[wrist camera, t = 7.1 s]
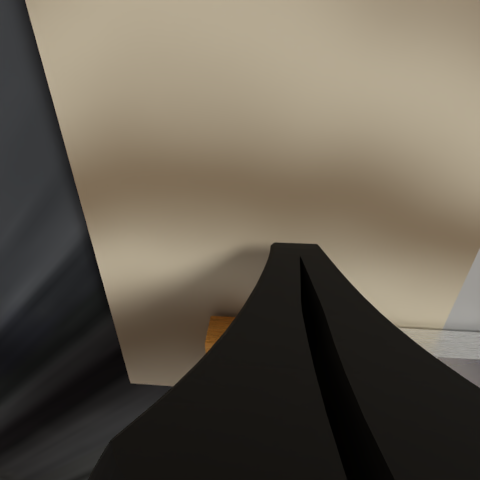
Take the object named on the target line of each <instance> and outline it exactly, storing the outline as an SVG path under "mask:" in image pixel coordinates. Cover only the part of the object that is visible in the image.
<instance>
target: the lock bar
mask: <svg viewBox="0 0 480 480" xmlns="http://www.w3.org/2000/svg"><path fill="white" fill-rule="evenodd" d="M234 319H235V317H223V316H211V317H210V322H209V326H208V331H207V336H206V340H205V351H206V353H207V352H208V351H209V350H210V348H211V347H212V346H213V345H214V344H215V342H216V341H217V340H218V339H219V338H220V337H221V335H222V334H223V333H224V332H225V331H226V329H227V328H228V327H229V325H230V324H231V323H232V321H233V320H234ZM399 329H400V330H401V331H402V332H404V333H405V334H406V335H407V336H409V337H410V338H411V339H412V340H413V341H415V342H416V343H417V344H418V345H420V346H421V347H422V348H424V349H425V350H426V351H428V352H429V353H430V354H432V355H433V356H434V357H436V358H437V359H439V360H440V361H442V362H443V363H444V364H446V365H447V366H449V367H450V368H451V369H453V370H454V371H456V372H457V373H459V374H460V375H461V376H463V377H464V378H466V379H467V380H469V381H470V382H472V383H473V384H475V385H476V386H478V387H479V388H480V332H465V331H446V330H428V329H409V328H399Z"/></svg>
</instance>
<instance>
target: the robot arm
mask: <svg viewBox="0 0 480 480" xmlns="http://www.w3.org/2000/svg"><path fill="white" fill-rule="evenodd" d="M88 480H480V388H479V387H478V386H476V385H475V384H473V383H472V382H470V381H469V380H467V379H466V378H464V377H463V376H461V375H460V374H459V373H457V372H456V371H454V370H453V369H451V368H450V367H449V366H447V365H446V364H444V363H443V362H442V361H440V360H439V359H437V358H436V357H434V356H433V355H432V354H430V353H429V352H428V351H426V350H425V349H424V348H422V347H421V346H420V345H418V344H417V343H416V342H415V341H413V340H412V339H411V338H410V337H409V336H407V335H406V334H405V333H404V332H402V331H401V330H400V329H399V328H398V327H396V326H395V325H394V324H393V323H392V322H390V321H389V320H388V319H387V318H386V317H385V316H384V315H382V314H381V313H380V312H379V311H378V310H377V309H376V308H375V307H374V306H373V305H372V304H371V303H370V302H369V301H368V300H367V299H366V298H365V297H364V296H363V295H362V294H361V293H360V292H359V291H358V290H357V289H356V288H355V287H354V286H353V285H352V284H351V283H350V282H349V280H348V279H347V278H346V277H345V276H344V275H343V274H342V273H341V271H340V270H339V269H338V268H337V267H336V266H335V264H334V263H333V262H332V261H331V260H330V258H329V257H328V256H327V255H326V254H325V252H324V251H323V250H322V249H321V248H320V246H319V245H318V244H305V243H278V242H274V243H273V244H272V245H271V246H270V253H269V257H268V260H267V262H266V265H265V267H264V270H263V272H262V274H261V276H260V278H259V280H258V282H257V284H256V286H255V288H254V289H253V291H252V293H251V294H250V296H249V298H248V299H247V301H246V302H245V304H244V306H243V307H242V309H241V310H240V312H239V313H238V314H237V316H236V317H235V319H234V320H233V321H232V323H231V324H230V325H229V327H228V328H227V329H226V331H225V332H224V333H223V334H222V335H221V337H220V338H219V339H218V340H217V341H216V342H215V344H214V345H213V346H212V347H211V348H210V350H209V351H208V352H207V353H206V354H205V355H204V356H203V357H202V358H201V359H200V360H199V362H198V363H197V364H196V365H195V366H193V367H192V368H191V369H190V370H189V371H188V372H187V373H186V374H185V375H184V376H183V377H182V378H181V379H180V380H179V381H178V382H177V383H176V384H175V385H174V386H173V387H172V388H171V389H170V390H169V391H168V392H167V393H166V394H165V395H163V396H162V397H161V398H160V399H159V400H158V401H157V402H156V403H154V404H153V405H152V406H151V407H150V408H148V409H147V410H146V411H145V412H144V413H142V414H141V415H140V416H139V417H138V418H136V419H135V420H134V421H133V422H132V423H131V424H129V425H128V426H127V427H126V428H125V429H123V430H122V431H121V432H120V433H119V434H117V435H116V436H115V437H114V438H113V439H111V440H110V442H109V444H108V445H107V447H106V448H105V450H104V452H103V453H102V455H101V457H100V459H99V460H98V462H97V464H96V466H95V467H94V469H93V471H92V473H91V475H90V477H89V479H88Z"/></svg>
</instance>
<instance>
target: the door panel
mask: <svg viewBox="0 0 480 480" xmlns="http://www.w3.org/2000/svg"><path fill="white" fill-rule="evenodd" d="M25 2H26V5H27V9H28V13H29V16H30V20H31V24H32V27H33V31H34V34H35V38H36V42H37V45H38V49H39V53H40V56H41V60H42V64H43V67H44V71H45V74H46V78H47V82H48V85H49V89H50V93H51V96H52V100H53V103H54V107H55V111H56V114H57V118H58V122H59V125H60V129H61V133H62V136H63V140H64V143H65V147H66V151H67V154H68V158H69V162H70V165H71V169H72V172H73V176H74V180H75V183H76V187H77V191H78V194H79V198H80V202H81V205H82V209H83V212H84V216H85V220H86V223H87V227H88V231H89V234H90V238H91V241H92V245H93V249H94V252H95V256H96V260H97V263H98V267H99V271H100V274H101V278H102V281H103V285H104V289H105V292H106V296H107V300H108V303H109V307H110V310H111V314H112V318H113V321H114V325H115V329H116V332H117V336H118V340H119V343H120V347H121V350H122V354H123V358H124V361H125V365H126V369H127V372H128V376H129V380H130V383H134V384H148V385H162V386H174V385H175V384H176V383H177V382H178V381H179V380H180V379H181V378H182V377H183V376H184V375H185V374H186V373H187V372H188V371H189V370H190V369H191V368H192V367H193V366H195V365H196V364H197V363H198V362H199V360H200V359H201V358H202V357H203V356H204V355H205V354H206V351H205V340H206V336H207V331H208V326H209V322H210V317H211V316H223V317H236V316H237V314H238V313H239V312H240V310H241V309H242V307H243V306H244V304H245V302H246V301H247V299H248V298H249V296H250V294H251V293H252V291H253V289H254V288H255V286H256V284H257V282H258V280H259V278H260V276H261V274H262V272H263V270H264V267H265V265H266V262H267V260H268V257H269V253H270V246H271V245H272V244H273V243H274V242H278V243H305V244H318V245H319V246H320V248H321V249H322V250H323V251H324V252H325V254H326V255H327V256H328V257H329V258H330V260H331V261H332V262H333V263H334V264H335V266H336V267H337V268H338V269H339V270H340V271H341V273H342V274H343V275H344V276H345V277H346V278H347V279H348V280H349V282H350V283H351V284H352V285H353V286H354V287H355V288H356V289H357V290H358V291H359V292H360V293H361V294H362V295H363V296H364V297H365V298H366V299H367V300H368V301H369V302H370V303H371V304H372V305H373V306H374V307H375V308H376V309H377V310H378V311H379V312H380V313H381V314H382V315H384V316H385V317H386V318H387V319H388V320H389V321H390V322H392V323H393V324H394V325H395V326H396V327H398V328H409V329H428V330H442V329H443V327H444V325H445V323H446V320H447V318H448V316H449V314H450V312H451V310H452V307H453V305H454V303H455V301H456V299H457V297H458V294H459V292H460V290H461V288H462V286H463V283H464V281H465V279H466V277H467V275H468V273H469V270H470V268H471V266H472V264H473V262H474V260H475V257H476V255H477V253H478V251H479V249H480V0H25Z"/></svg>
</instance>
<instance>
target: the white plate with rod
mask: <svg viewBox="0 0 480 480" xmlns="http://www.w3.org/2000/svg"><path fill="white" fill-rule="evenodd" d="M442 330H446V331H465V332H480V249H479V251H478V253H477V255H476V257H475V260H474V262H473V264H472V266H471V268H470V270H469V273H468V275H467V277H466V279H465V281H464V283H463V286H462V288H461V290H460V292H459V294H458V297H457V299H456V301H455V303H454V305H453V307H452V310H451V312H450V314H449V316H448V318H447V320H446V323H445V325H444V327H443V329H442Z"/></svg>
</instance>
